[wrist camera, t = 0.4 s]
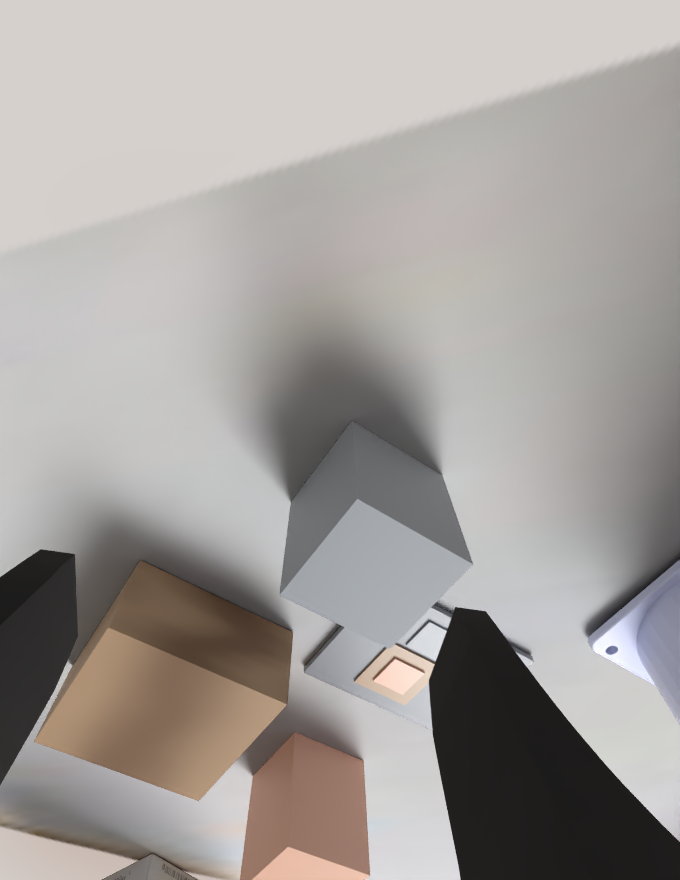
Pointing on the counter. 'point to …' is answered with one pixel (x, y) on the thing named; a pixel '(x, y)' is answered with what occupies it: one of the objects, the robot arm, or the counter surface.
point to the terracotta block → (307, 816)
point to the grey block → (372, 539)
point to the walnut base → (171, 685)
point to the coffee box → (150, 871)
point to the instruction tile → (388, 666)
